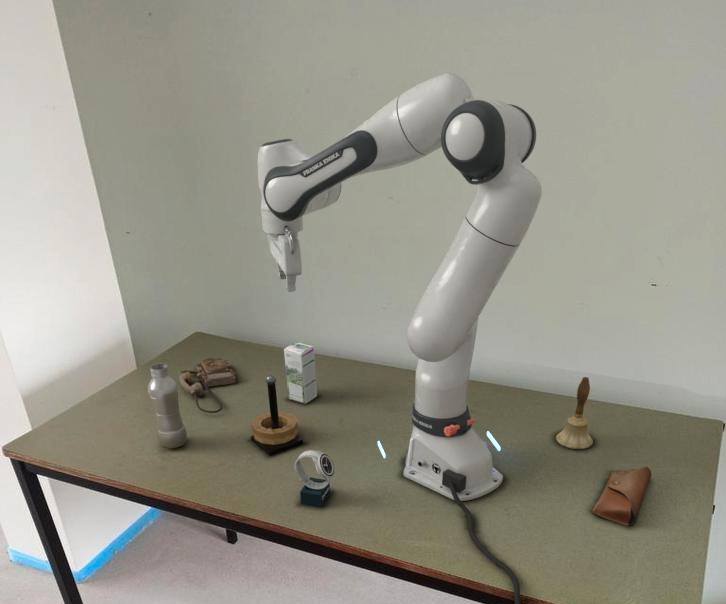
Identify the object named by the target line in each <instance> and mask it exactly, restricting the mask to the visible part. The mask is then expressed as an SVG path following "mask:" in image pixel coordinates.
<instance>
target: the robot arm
mask: <svg viewBox="0 0 726 604" xmlns="http://www.w3.org/2000/svg"><path fill="white" fill-rule="evenodd" d="M536 128H537V127H536V124H535V122H534V120H533V118H532V116H531V115H530V114H529V113H528V112H527V111H526V110H524V109H523V108H522V107H520V106H518V105H515V104H510V103H505V101H501V100H494V99H493V100H492V99H491V100H490V99H487V100H482V99H476V100H475V98H474V96H473V93H472V90H471V88H470V86H469V85H468V83H467V82H466V81H465V80H464V79H463V78H462V77H461V76H460V75H458V74H455V73H451V72H447V73H442V74H439V75H437V76H433V77H431V78H429V79H426V80H424V81H422V82H420V83H418V84H416V85H414V86H412V87H411V88H409V89H407V90H406V91H404V92H402V93H401V94H399V95H397V96H396V97H395V98H393V99H391V101H389V102H388V103H386V104H385V105H384V106H382V107H381V108H380V109H379V110H377V111H376V112H375V113H374V114H372V115H371V116H370V117H369V118H368V119H366V120H365V121H364V122H363V123H361V124H360V125H358V126H357V127H356V128H354V129H353V130H352V131H351V132H349V133H348V134H347V135H346V136H344V137H343V138H341V139H340V140H338V141H336V142H335V143H333V144H332V145H330V146H328V147H327V148H325V149H324V150H322V151H320V152H318V153H316V154H315V155H314V154H312V153H309V152H307V151H306V150H304V149H303V148H302V147H300V145H299V144H298V143H297V142H296V141H295V140H294V139H291V138H283V139H278V140H273V141H268V142H264V143H263V144H262V145H261V146H259V148H258V153H257V180H258V188H259V191H260V194H261V202H260V215H261V224H262V231H263V232H264V233H266V236H267V243H268V247H269V251H270V254H271V255H272V257H273V258H274V260H275V262H276V267H277V270H278V271H277V272H278V278H279V279H280V280H286V282H285V287H286V290H287V292H288V293H293V292H296V289H297V288H296V282H297V277H298V276H301V275H302V273H303V265H302V255H301V246H300V240H299V238H298V237H299V233H300V232H302V231H303V230H304V221H303V220H304V217H303V216H306V215H309V214H313V213H314V212H319V211H320V210H322V209H326V208H328V207H330V206H332V205H334V204H335V203H336V202H337V201H338V200H339V198H340V195H341V193H342V183H343V182H345V181H347V180H349V179H351V178H354V177H357V176H361V175H364V174H368V173H374V172H379V171H385V170H390V169H394V168H398V167H401V166H406V165H408V164H411V163H413V162H417V161H418V160H420V159H423V158H425V157H426V156H429V155H430V154H432V153H433V152H435V151H437V150H439V149H440V148H441V149H442V152H443V154H444V156H445V158H446V160H448V162H449V163H450V165H452V166H453V167H454V168H455V169H456V170H457V171H458V172H460V174H461V175H462V177H463V178H464V179H465V181H466V182H467V183H468V184H470V185H473V186H474V185H475V186H476V187H477V189H476V193H475V196H474V199H473V201H472V203H471V205H470V207H469V209H468V210H467V213H466V215H465V217H464V219H463V221H462V222H461V225H460V226H459V228H458V230H457V232H456V234H455V236H454V239H453V241H452V243H451V244H450V247H449V248H448V250H447V252H446V254H445V256H444V258H443V260H442V261H441V263H440V265H439V267H438V268H437V270H436V271H435V273H434V275H433V277H432V278H431V281H430V282H429V284H428V285H427V288H426V289H425V291H424V293H423V294H422V297H421V299H420V300H419V302H418V304H417V306H416V307H415V310H414V311H413V313H412V316H411V318H410V320H409V323H408V326H407V330H406V340H407V341H406V342H407V344H408V347H409V349H410V351H411V352H412V354H413V355H414V356H415V357H417V358H418V361H417V365H416V367H415V373H414V374H415V376H414V380H415V381H414V402H413V404H412V409H411V422H412V425H413V426H412V430H411V435H410V439H409V444H408V451H407V454H406V457H405V463H404V464H405V466H404V469H403V474H402V476H403V477H405V478H406V479H408V480H411V481H413V482H415V483H416V484H419V485H421V486H423V487H425V488H427V489H430V490H432V491H433V492H435V493H438V494H440V495H442V496H444V497H446V498H449V499H450V500H452V501H454V502H455V503H456V504H457V506H458V507H459V508H460V509H461V510H462V511H463V512H464V514H465V515H466V518H467V522H468V525H467V526H468V528H467V530H468V533H469V535H470V538H471V540H472V541H473V543H474V544H475V545H476V547H477V548H478V549H479V550H480V551H481V553H483V555H485V556H486V557H487V559H489V561H491V562H492V563H494V565H496V567H497V566H498V568H500V569H502V571H504V572H505V573H506V574H507V575H508V576H509V578H510V579H511V582H512V584H513V599H514V604H521V603H522V601H521V587H520V581H519V579H518V577H517V575H516V574H515V573H514V571H513V570H512V569H511V568H510V567H509V566H508V565H507V564H505V563H504V562H503V561H501V560H500V559H498V558H497V557H496V556H495V555H493V553H492V552H490V551H489V550H488V548H487V547H486V546H485V545H484V544H483V543H482V542H481V541H480V539H479V538H478V536H477V535H476V532H475V529H474V517H473V515H472V513H471V511H470V510H469V508H467V506H466V505H465V504H464V503H463V502H464V501H465V502H466V501H470V500H475V499H478V498H481V497H483V496H486V495H487V494H489V493H491V492H493V491H494V490H497V488H499V487H500V486H501V484H502V483H503V480H504V475H503V474H502V473H501V472H500V471H499V470H497V469H496V468H495V467H494V465H493V464H494V463H493V457H492V456H493V455H492V453H491V451H490V450H489V446H488V443H487V441H486V440H482V439H481V438H480V436H479V434H478V433H477V432H476V430H475V429H474V428H473V424H475V423H476V421H475V420H476V419H477V418H476V417H471V413H470V409H469V406H468V396H469V395H468V394H469V384H470V383H469V381H470V373H471V367H472V361H473V356H474V349H475V346H476V345H475V344H476V338H477V331H478V330H477V329H478V323H479V318H480V315H481V314H482V312H483V310H484V308H485V307H486V305H487V303H488V301H489V300H490V298H491V296H492V294H493V293H494V291H495V289H496V287H497V286H498V284H499V283H500V281H501V279H502V277H503V275H504V273H505V272H506V270H507V268H508V266H509V265H510V263H511V261H512V260H513V258H514V256H515V254H516V253H517V251H518V249H519V248H520V246H521V244H522V242H523V240H524V239H525V236H526V235H527V233H528V231H529V228H530V227H531V224H532V222H533V219H534V218H535V215H536V212H537V210H538V207H539V204H540V201H541V199H542V194H543V189H542V185H541V182H540V180H539V179H538V177H537V175H536V174H535V173H534V172H532V171H531V170H530V169H529V168H527V167H525V165H524V163H525V162H526V161H527V160H528V158H529V157H530V156H531V154H532V153H533V151H534V148H535V145H536V141H537V129H536ZM486 436H487V437H488V439H489V440H490V441H491V443H492V444H493V445H494V447H495V448H496V450H497V451H498V452H500V451H501V446H500V445H499V443H498V442H497V440H496V439H495V437H493V435H492V433H490V431H489V430H488V431H487V432H486ZM377 446H378V448H379V451H380V453H381V455H382V457H383V459H386V453H385V451H384V448H383V446H382V444H381V442H380V440H378V441H377Z"/></svg>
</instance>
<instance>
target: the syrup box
mask: <svg viewBox="0 0 726 604" xmlns="http://www.w3.org/2000/svg"><path fill="white" fill-rule="evenodd" d="M283 354H284V355H283V356H284V365H285V375H286V386H287V387H286V388H287V397H288V400H290V401H294V402H297V403H300V404H304V405H306V404H307V403H309V402H311V401H312V400H314V399H315V398H316V397H318V390H317V377H316V361H315V357H316V356H315V348H314V345H311V344H310V345H309V344H305V343H302V342H298V341H297V342H294V343H291V344H290V345H288V346H287V347H285V348H284V349H283Z"/></svg>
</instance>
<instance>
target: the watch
mask: <svg viewBox="0 0 726 604" xmlns="http://www.w3.org/2000/svg"><path fill="white" fill-rule="evenodd" d="M303 458H311V459H312V462H313V463H314V465H315V469H316V472H317V474H318V475H319V476H320V477H321V478H317V477H311V476H310V477H309V475H308V474H307V473H306V471H305V469H304V467H303V464H301V459H303ZM293 471H294V473H295V475H296V477H297V478H298V481H299V482H300V484H302V485H303V487H302V488H301V490H300V491H299V494H300V505H303V506H309V507H316V508H320V509H321V508H322V507H323V505H324V503H325V502H326V501H327V498H328V497H329V495H330V493H331V484H330V482H331V481H332V480H333V477H334V475H335V464H334V461H333V459H332V458H331V457H330V455H329V454H327V453H323V452H322V451H320V450H319V451H318V450H314V449H308V450H305V451H303V452H302V453H300V454H299V456H298V457H297V459H295V461H294V469H293Z"/></svg>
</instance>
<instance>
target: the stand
mask: <svg viewBox="0 0 726 604" xmlns="http://www.w3.org/2000/svg"><path fill="white" fill-rule="evenodd" d="M265 382H266V385H267V394H268V395H267V396H268V405H269V413H270V415H271V425H272V427H271V429H279V428H282V427H279V416H278V412H279V408H278V407H279V406H278V396H277V386H276V382H277V379H276V376H275V375H273V374H269V375H267V376H266V378H265ZM250 441H251V442H252V443H254V444H255V445H256V446H257V447H258V448H260V450H262V451H263V452H264V453H265V454H267V455H268V456H269V457H271V456H275V455H277V454H280V453H282V452H286V451H287V450H291V449H294V448H296V447H299V446H301V445H304V440H303V438H301V437H300V436H299V435H298V434H297V435H296V437H295V438H294V439H292V440H290V441H288V442H286V443H282V444H276V445H272V444H263V443H261V442H259V441H257V440H255V438H254V435H253V434H252V435H250Z"/></svg>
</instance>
